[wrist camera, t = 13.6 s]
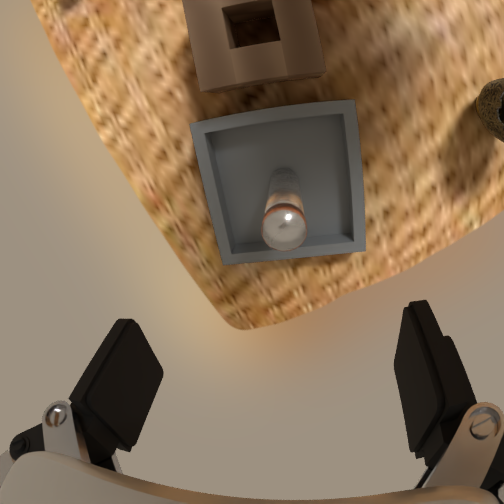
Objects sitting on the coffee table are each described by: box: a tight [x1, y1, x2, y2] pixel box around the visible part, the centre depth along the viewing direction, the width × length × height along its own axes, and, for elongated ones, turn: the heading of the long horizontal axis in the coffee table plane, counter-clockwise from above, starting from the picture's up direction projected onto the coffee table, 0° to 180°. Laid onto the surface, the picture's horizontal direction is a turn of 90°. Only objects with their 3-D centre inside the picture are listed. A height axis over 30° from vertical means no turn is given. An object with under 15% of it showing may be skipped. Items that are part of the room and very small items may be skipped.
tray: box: [190, 100, 366, 265], centre depth 29 cm, size 15×15×3 cm
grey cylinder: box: [261, 168, 307, 251], centre depth 24 cm, size 3×3×12 cm
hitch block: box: [182, 0, 326, 93], centre depth 21 cm, size 10×10×6 cm
